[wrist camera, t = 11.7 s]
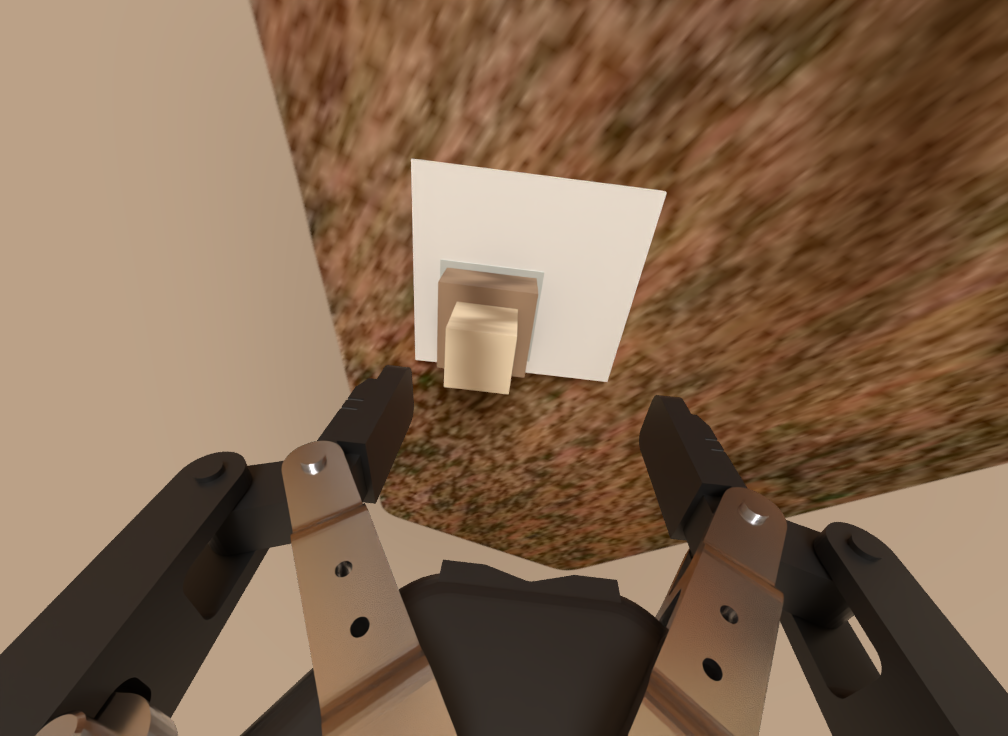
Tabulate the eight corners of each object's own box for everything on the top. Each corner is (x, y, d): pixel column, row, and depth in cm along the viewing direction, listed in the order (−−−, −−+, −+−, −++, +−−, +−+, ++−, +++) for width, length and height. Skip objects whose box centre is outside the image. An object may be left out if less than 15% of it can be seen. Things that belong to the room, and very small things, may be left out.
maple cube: (517, 309, 29) (517, 336, 25) (510, 361, 32) (508, 394, 28) (456, 301, 29) (445, 327, 25) (454, 354, 32) (443, 386, 28)
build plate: (662, 190, 29) (667, 192, 28) (605, 376, 39) (607, 382, 38) (414, 159, 29) (410, 159, 28) (417, 354, 38) (415, 360, 37)
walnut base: (536, 278, 32) (538, 293, 29) (524, 355, 36) (524, 377, 33) (446, 267, 32) (438, 281, 29) (444, 346, 36) (436, 367, 33)
